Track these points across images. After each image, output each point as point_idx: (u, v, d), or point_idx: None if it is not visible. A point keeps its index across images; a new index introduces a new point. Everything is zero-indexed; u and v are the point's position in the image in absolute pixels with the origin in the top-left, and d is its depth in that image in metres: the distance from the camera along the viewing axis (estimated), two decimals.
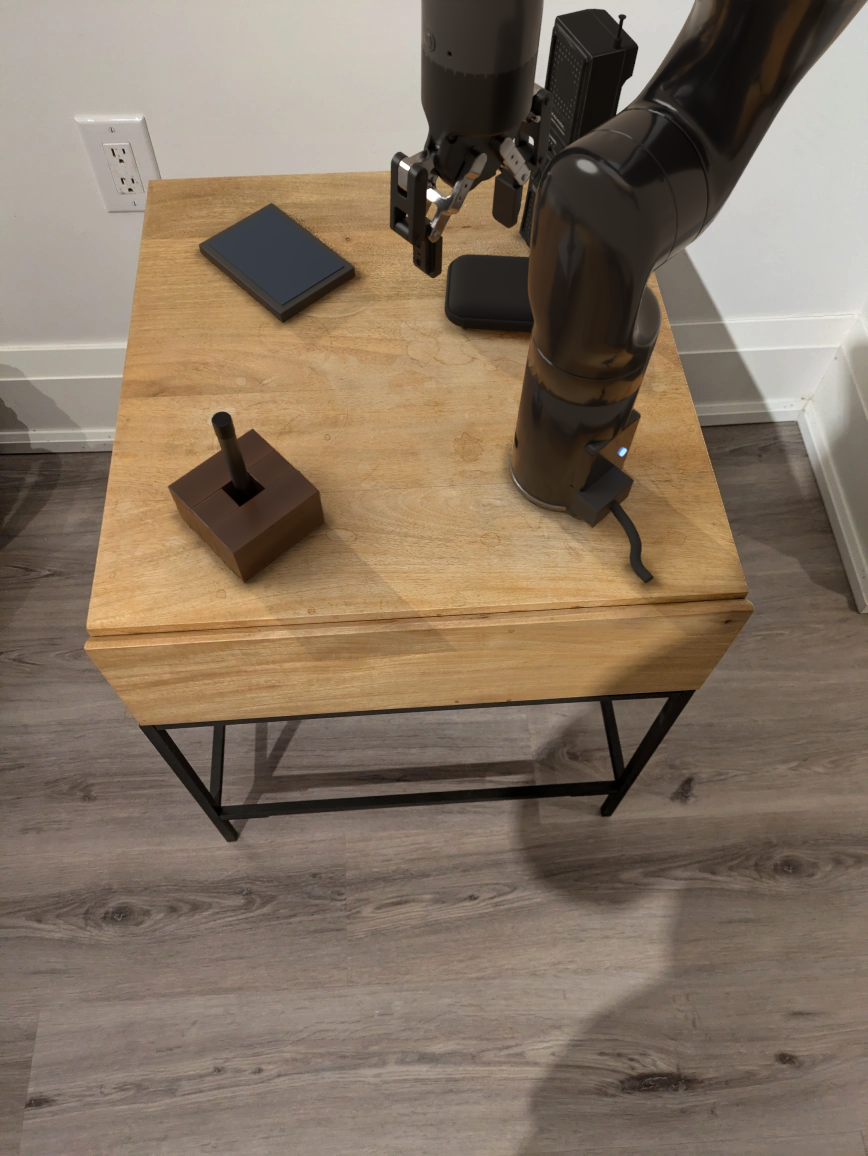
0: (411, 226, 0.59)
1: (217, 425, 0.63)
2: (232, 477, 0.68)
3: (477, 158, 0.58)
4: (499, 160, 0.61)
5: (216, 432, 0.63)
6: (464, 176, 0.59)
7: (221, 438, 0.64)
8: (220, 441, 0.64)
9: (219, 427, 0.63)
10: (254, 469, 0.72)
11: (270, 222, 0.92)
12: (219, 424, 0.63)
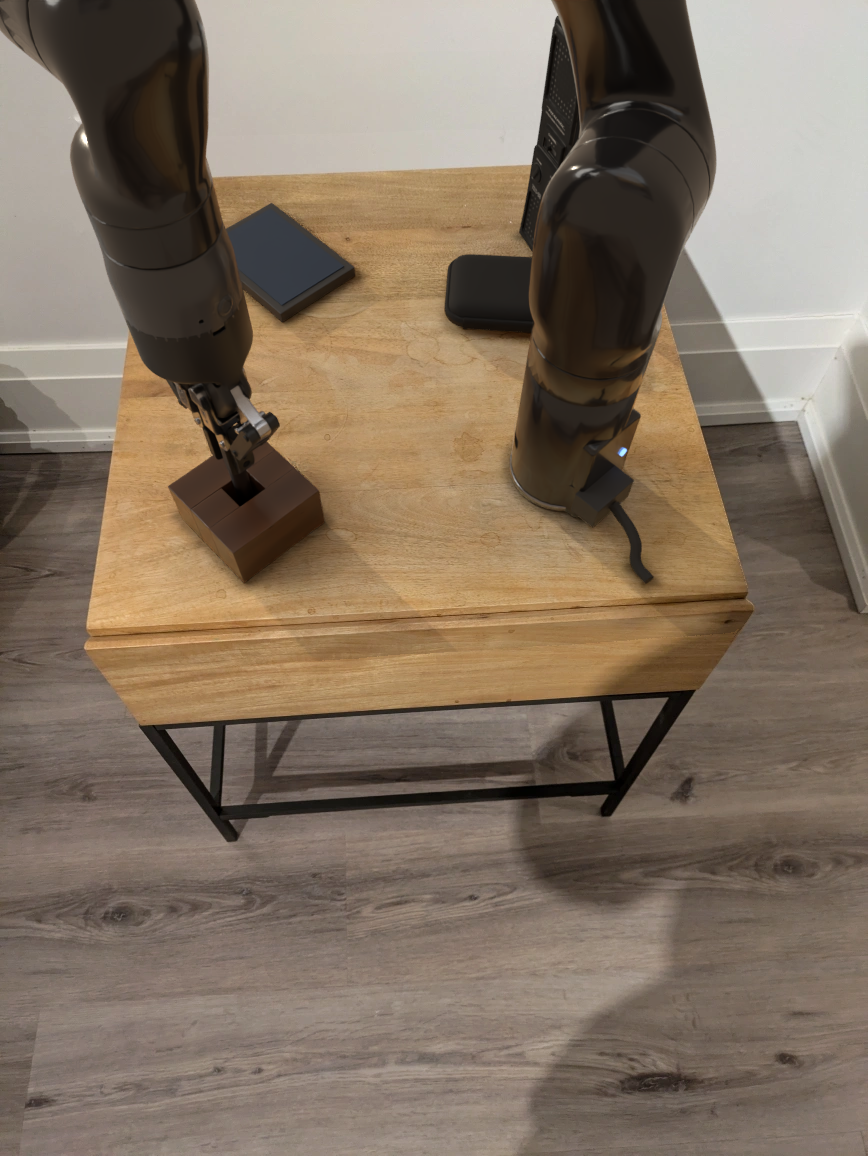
0: None
1: None
2: (232, 477, 0.68)
3: None
4: None
5: None
6: None
7: None
8: None
9: None
10: (254, 469, 0.72)
11: (270, 222, 0.92)
12: None
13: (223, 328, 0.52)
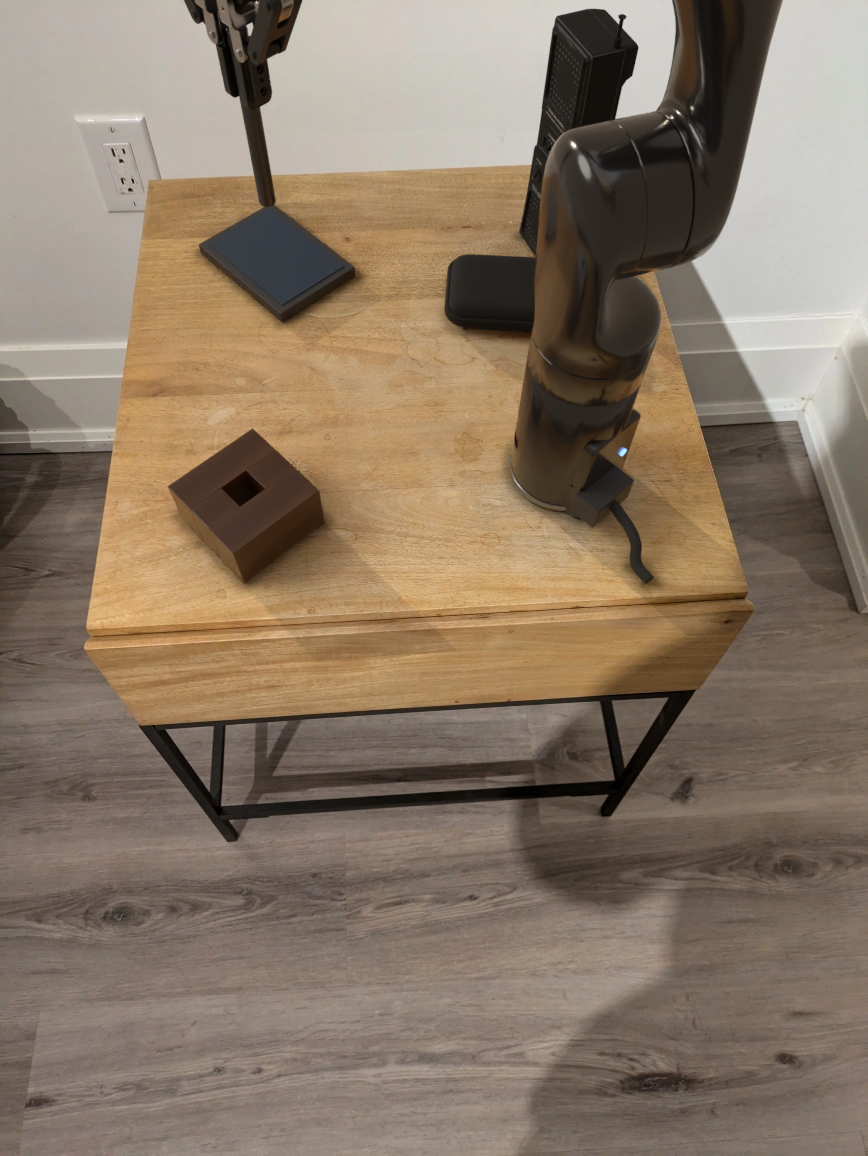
0: None
1: None
2: (247, 123, 0.64)
3: None
4: None
5: (231, 46, 0.59)
6: None
7: None
8: None
9: None
10: (254, 469, 0.72)
11: (270, 222, 0.92)
12: None
13: None
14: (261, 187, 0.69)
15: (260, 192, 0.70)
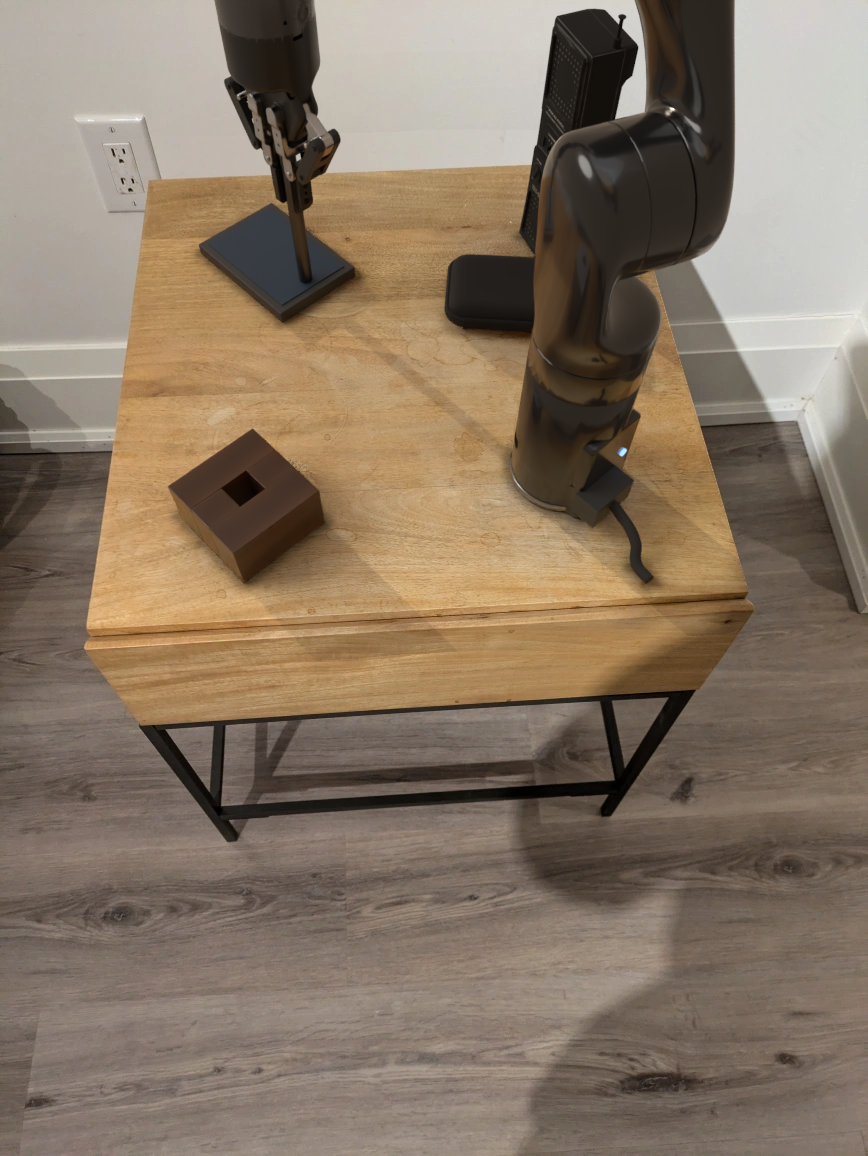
0: (246, 129, 0.76)
1: None
2: (292, 222, 0.81)
3: (248, 94, 0.71)
4: None
5: (282, 168, 0.76)
6: None
7: None
8: None
9: None
10: (254, 469, 0.72)
11: (270, 222, 0.92)
12: None
13: (300, 36, 0.64)
14: (301, 268, 0.86)
15: (300, 272, 0.86)
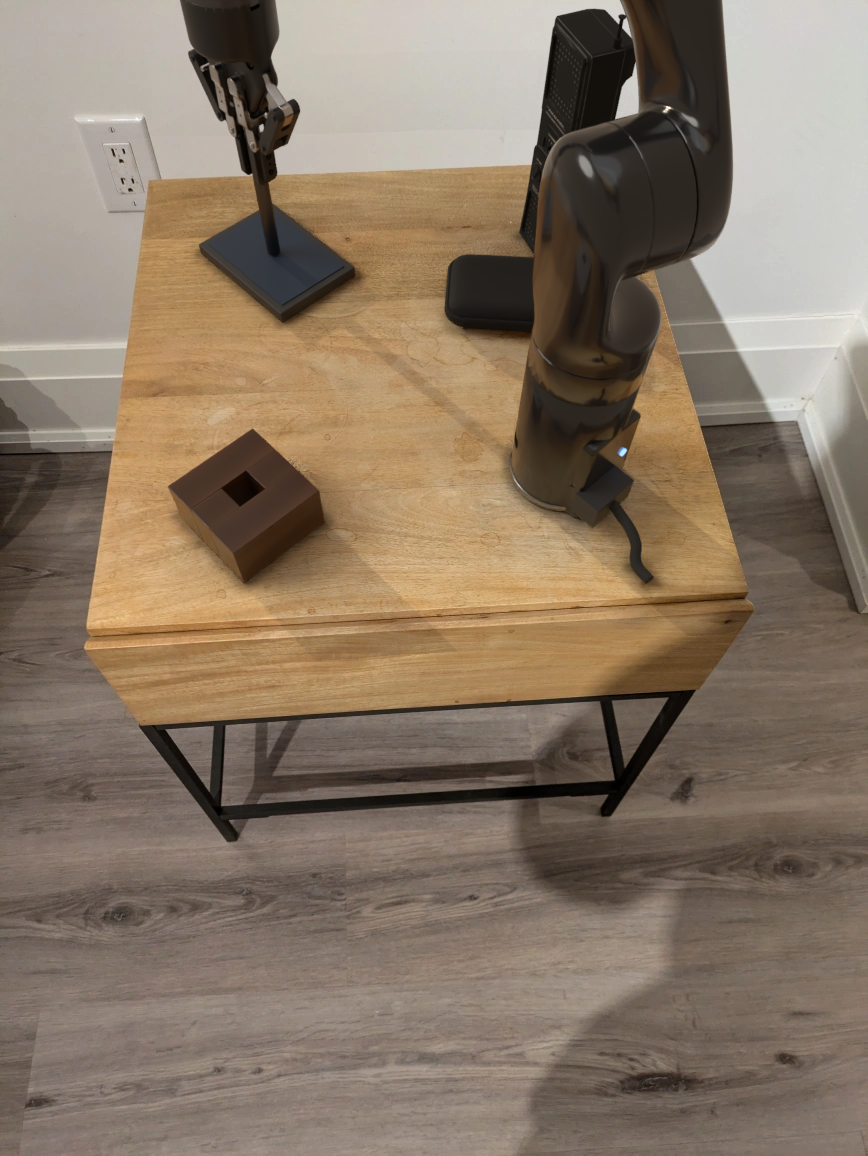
0: None
1: None
2: (258, 194, 0.83)
3: (210, 65, 0.72)
4: None
5: (246, 139, 0.78)
6: None
7: None
8: None
9: None
10: (254, 469, 0.72)
11: None
12: None
13: (258, 6, 0.66)
14: (268, 240, 0.88)
15: (268, 244, 0.88)
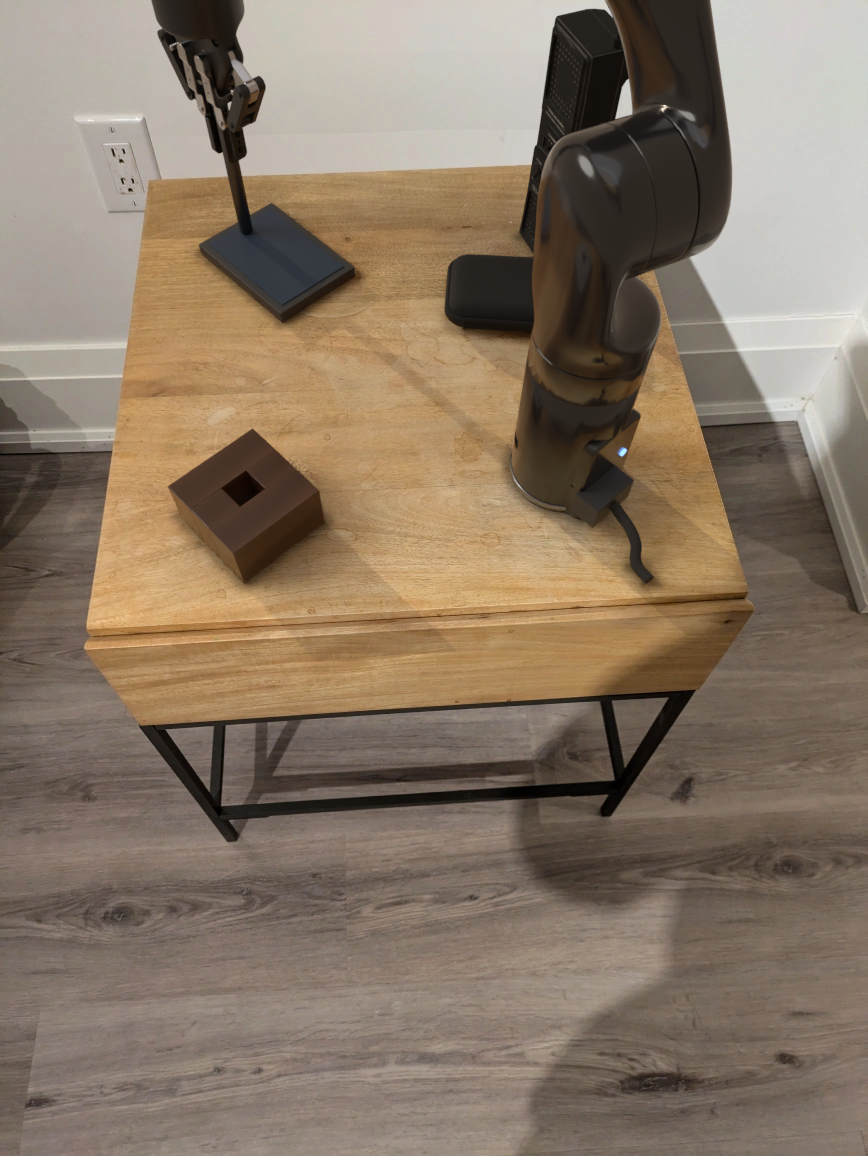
0: None
1: None
2: (228, 172, 0.84)
3: (177, 43, 0.74)
4: None
5: (215, 117, 0.79)
6: None
7: None
8: None
9: None
10: (254, 469, 0.72)
11: (270, 222, 0.92)
12: None
13: None
14: (241, 219, 0.89)
15: (240, 223, 0.90)
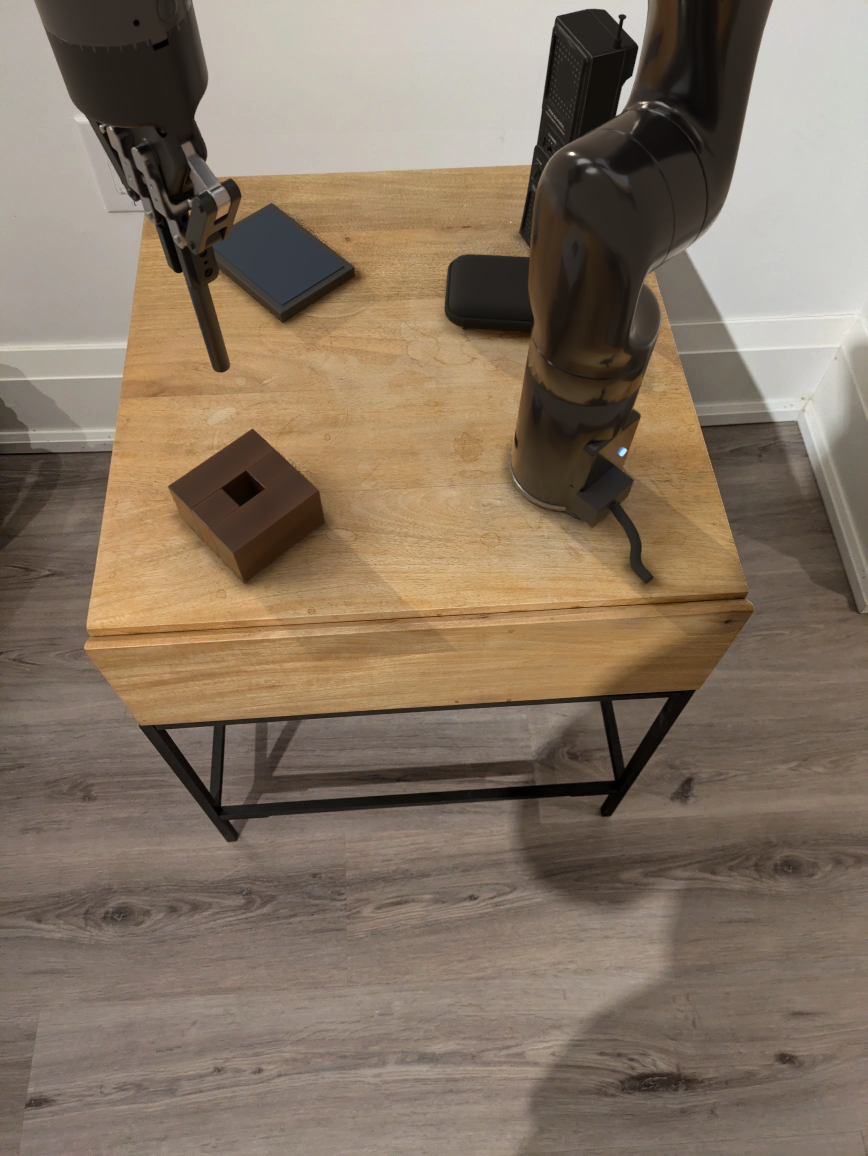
0: None
1: None
2: (193, 298, 0.59)
3: (107, 127, 0.48)
4: None
5: None
6: None
7: None
8: None
9: None
10: (254, 469, 0.72)
11: (270, 222, 0.92)
12: None
13: (166, 43, 0.42)
14: (213, 355, 0.63)
15: (212, 359, 0.64)
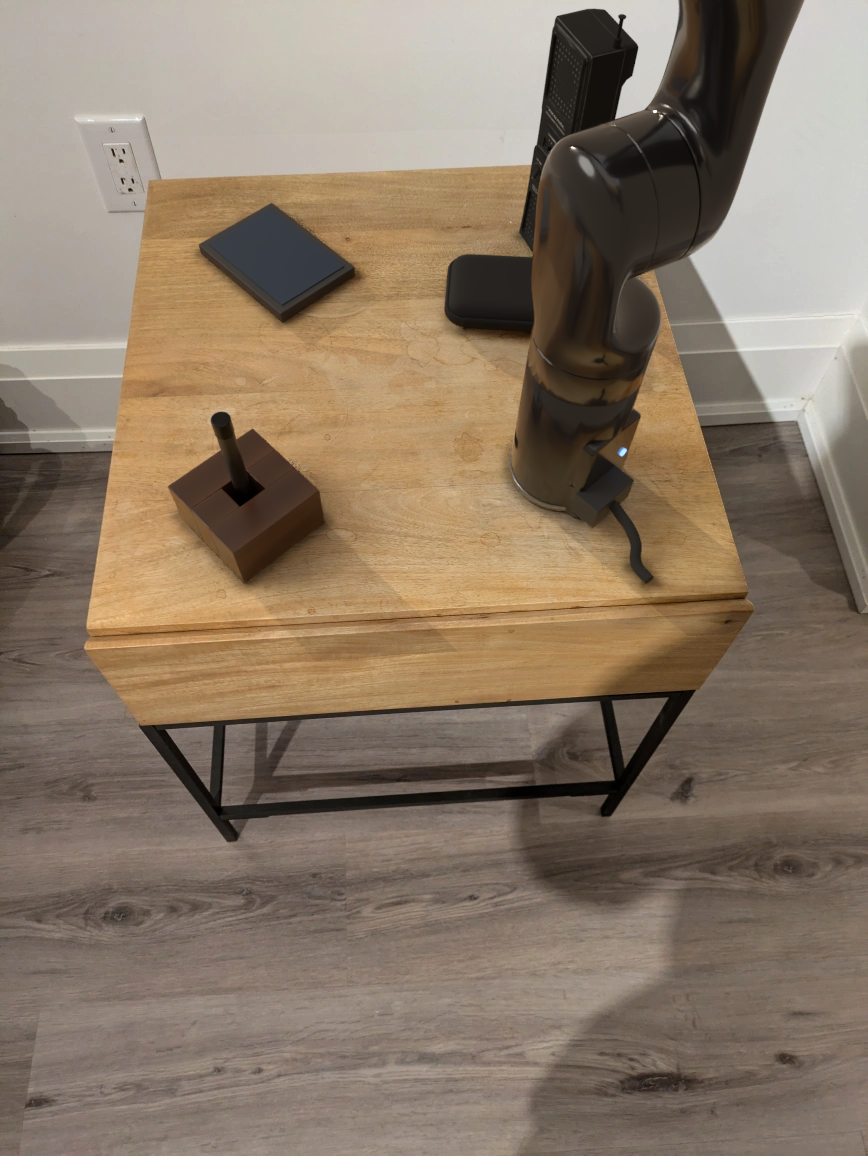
0: None
1: (216, 425, 0.63)
2: (231, 477, 0.68)
3: None
4: None
5: (215, 432, 0.63)
6: None
7: (220, 438, 0.64)
8: (219, 441, 0.64)
9: (218, 427, 0.63)
10: (254, 469, 0.72)
11: (270, 222, 0.92)
12: (218, 424, 0.63)
13: None
14: None
15: None
